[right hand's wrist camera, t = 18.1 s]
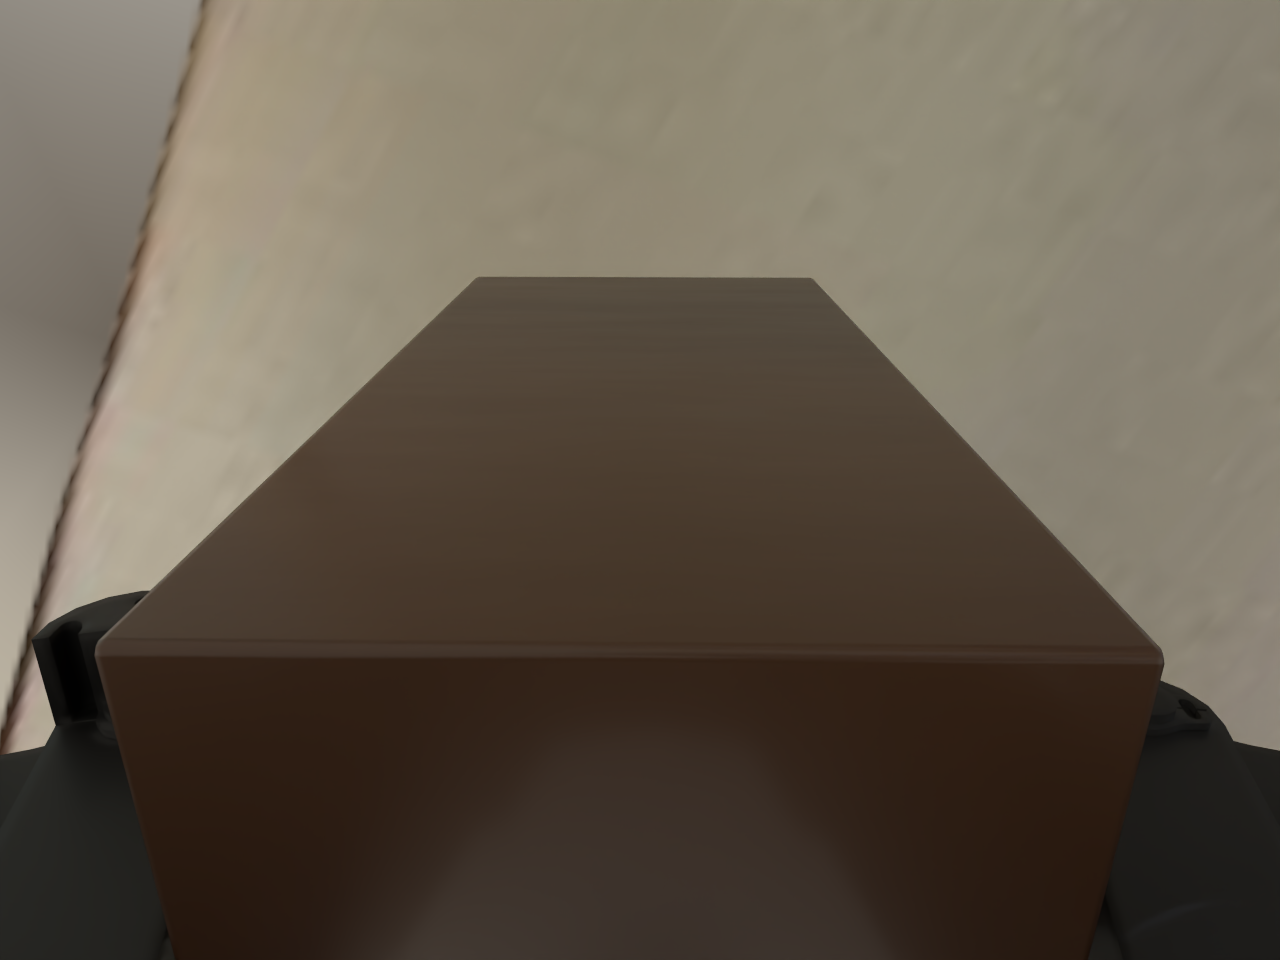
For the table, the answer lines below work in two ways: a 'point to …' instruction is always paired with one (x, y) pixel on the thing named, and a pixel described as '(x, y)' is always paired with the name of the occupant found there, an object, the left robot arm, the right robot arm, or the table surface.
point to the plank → (631, 660)
